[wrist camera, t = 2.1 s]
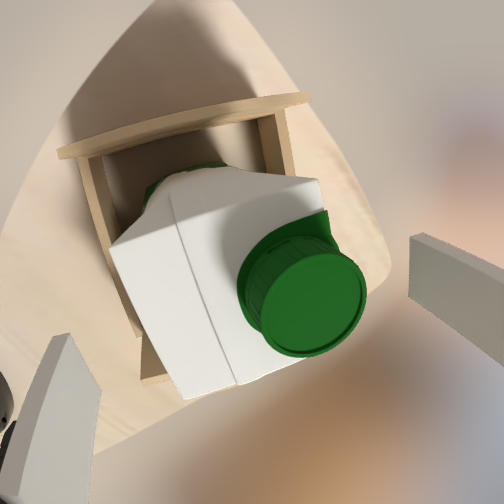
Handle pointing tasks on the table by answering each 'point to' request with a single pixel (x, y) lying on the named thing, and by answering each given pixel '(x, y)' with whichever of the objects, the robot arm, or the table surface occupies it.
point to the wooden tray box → (94, 147)
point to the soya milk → (236, 275)
